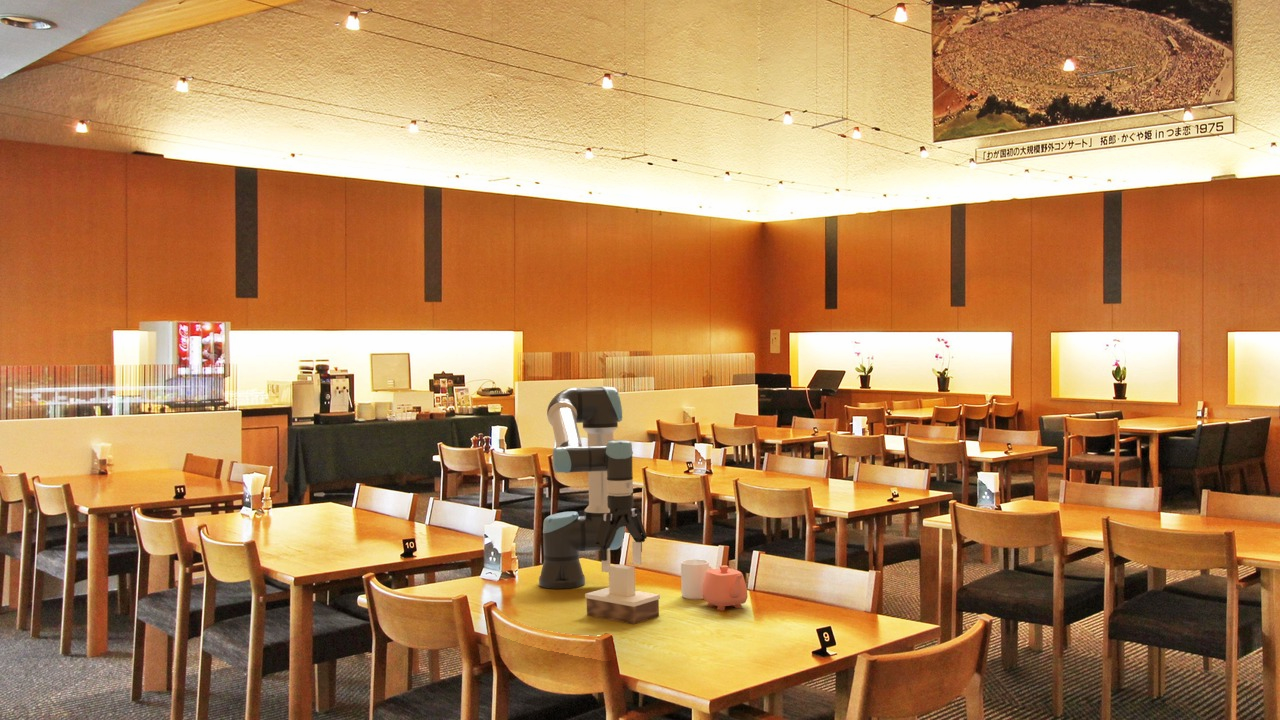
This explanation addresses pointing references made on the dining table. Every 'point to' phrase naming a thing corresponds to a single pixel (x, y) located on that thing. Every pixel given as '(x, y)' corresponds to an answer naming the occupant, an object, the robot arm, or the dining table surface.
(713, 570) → the teapot
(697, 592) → the mug
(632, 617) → the bento box
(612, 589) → the lid
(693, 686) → the dining table surface
